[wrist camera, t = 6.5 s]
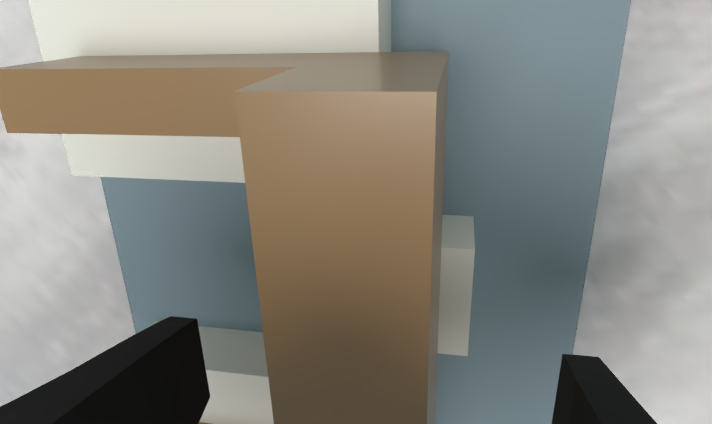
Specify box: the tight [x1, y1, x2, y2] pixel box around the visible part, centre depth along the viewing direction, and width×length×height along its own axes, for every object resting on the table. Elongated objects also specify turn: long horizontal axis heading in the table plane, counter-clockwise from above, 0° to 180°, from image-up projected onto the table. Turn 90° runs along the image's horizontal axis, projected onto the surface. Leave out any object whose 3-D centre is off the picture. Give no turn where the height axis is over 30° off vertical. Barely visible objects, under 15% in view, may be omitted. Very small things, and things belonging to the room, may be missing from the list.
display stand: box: [28, 0, 631, 424], centre depth 14 cm, size 14×16×3 cm
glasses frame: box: [0, 51, 449, 424], centre depth 11 cm, size 8×12×5 cm
